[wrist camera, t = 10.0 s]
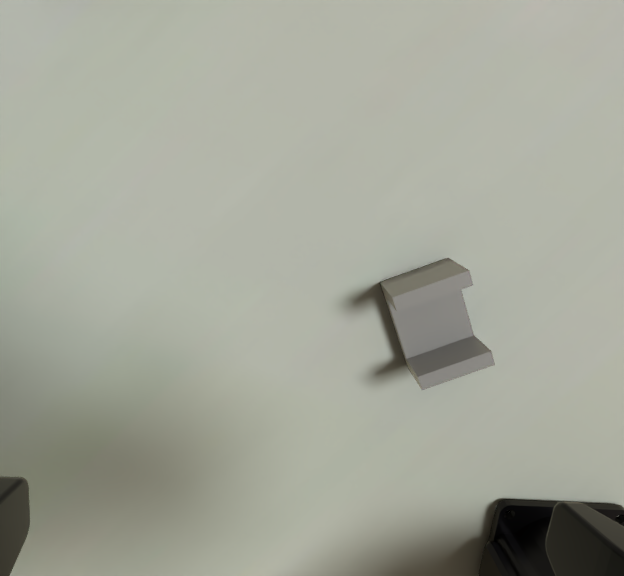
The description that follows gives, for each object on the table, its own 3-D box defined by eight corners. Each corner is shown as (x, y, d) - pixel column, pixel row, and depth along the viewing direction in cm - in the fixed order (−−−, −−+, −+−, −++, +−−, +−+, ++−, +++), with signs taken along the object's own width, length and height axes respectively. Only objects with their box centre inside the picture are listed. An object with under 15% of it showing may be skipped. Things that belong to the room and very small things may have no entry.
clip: (448, 257, 21) (469, 270, 19) (472, 342, 22) (495, 364, 20) (379, 282, 21) (392, 297, 19) (407, 365, 22) (422, 390, 20)
